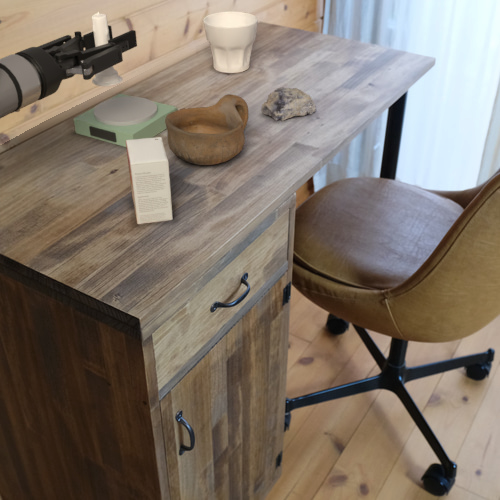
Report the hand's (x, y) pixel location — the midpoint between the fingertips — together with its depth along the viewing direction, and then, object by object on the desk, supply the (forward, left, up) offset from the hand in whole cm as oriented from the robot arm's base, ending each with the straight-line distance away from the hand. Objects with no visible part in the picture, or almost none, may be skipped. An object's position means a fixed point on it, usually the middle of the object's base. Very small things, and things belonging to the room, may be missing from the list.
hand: (122, 35), depth 115 cm
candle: (0, -5, -7) cm, 9 cm away
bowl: (+19, -1, -18) cm, 26 cm away
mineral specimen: (+24, +20, -18) cm, 36 cm away
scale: (-1, 0, -18) cm, 18 cm away
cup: (0, +38, -18) cm, 42 cm away
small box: (+21, -22, -18) cm, 35 cm away
